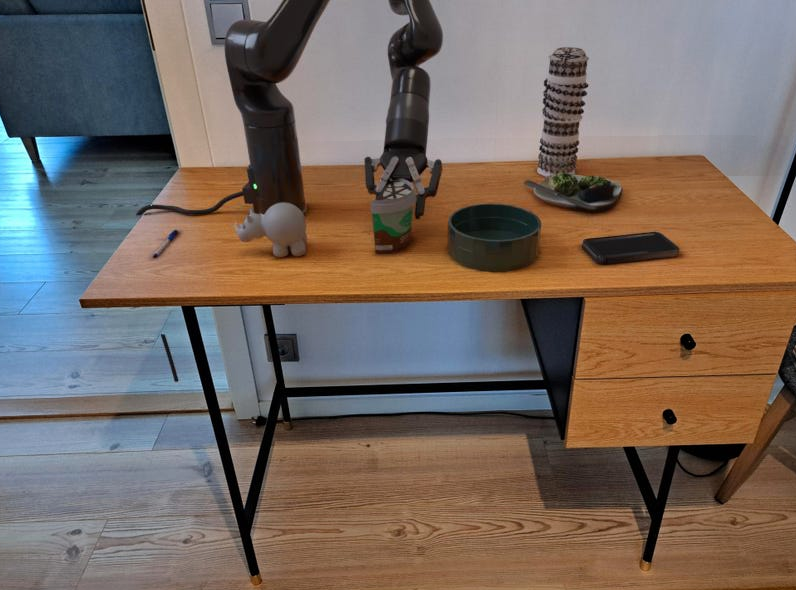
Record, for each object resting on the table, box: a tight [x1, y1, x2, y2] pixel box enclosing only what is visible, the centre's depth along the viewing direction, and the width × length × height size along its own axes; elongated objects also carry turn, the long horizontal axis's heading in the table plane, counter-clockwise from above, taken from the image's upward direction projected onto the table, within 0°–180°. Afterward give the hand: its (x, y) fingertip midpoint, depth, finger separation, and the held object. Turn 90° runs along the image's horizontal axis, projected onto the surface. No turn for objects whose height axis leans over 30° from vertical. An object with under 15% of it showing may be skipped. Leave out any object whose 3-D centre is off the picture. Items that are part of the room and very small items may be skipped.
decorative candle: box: [536, 46, 590, 178], centre depth 136 cm, size 9×9×25 cm
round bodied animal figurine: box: [234, 203, 308, 258], centre depth 109 cm, size 7×12×8 cm, turn 93°
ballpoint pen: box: [152, 229, 179, 259], centre depth 113 cm, size 10×1×1 cm, turn 179°
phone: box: [581, 231, 680, 265], centre depth 110 cm, size 8×1×15 cm
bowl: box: [447, 202, 542, 273], centre depth 109 cm, size 16×16×6 cm
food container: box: [370, 178, 417, 255], centre depth 110 cm, size 12×6×10 cm, turn 168°
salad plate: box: [523, 172, 624, 213], centre depth 130 cm, size 19×18×5 cm
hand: (398, 216), depth 111 cm, fingers closed on food container, 6 cm apart
